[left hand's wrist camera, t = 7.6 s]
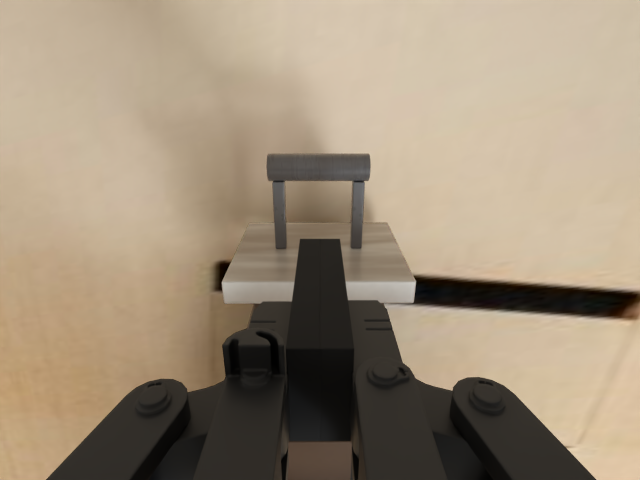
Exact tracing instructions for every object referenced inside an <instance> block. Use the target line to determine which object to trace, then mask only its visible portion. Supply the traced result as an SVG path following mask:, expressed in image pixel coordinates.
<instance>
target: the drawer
mask: <svg viewBox="0 0 640 480" xmlns="http://www.w3.org/2000/svg"><path fill="white" fill-rule="evenodd" d="M267 177H268V180H269V181H273V183H272V184H273V205H274V223H249V225H248V227H247V229H246V231H245V233H244V235H243V238H242V240H241V242H240V244H239V246H238V248H237V251H236V253H235V255H234V257H233V259H232V261H231V263H230V266H229V268H228V270H227V272H226V274H225V276H224V279H223V281H222V289H223V299H224V303H225V304H254V305H253V309H252V312H251V316H250V319H249V323H250V320H251V317H252V313H253V310H254V309H255V308H256V307H257V306H258V305H260V304H261V303H262V302H263V301H292V296H293V289H294V281H295V273H296V266H297V258H298V250H299V243H300V239H340V243H341V250H342V258H343V266H344V273H345V281H346V289H347V296H348V300H378V301H379V302H380V303H381V304H382V305H383V306H384V303H413V302H414V295H415V286H416V281H415V279H414V277H413V275H412V273H411V270H410V268H409V266H408V264H407V262H406V260H405V258H404V256H403V254H402V252H401V250H400V248H399V246H398V244H397V242H396V240H395V237H394V235H393V233H392V231H391V229H390V227H389V225H388V223H363V208H364V186H365V183H364V181H368V180H369V178H370V155H369V154H268V155H267ZM285 181H352V201H351V223H286V197H285ZM384 307H385V306H384ZM249 323H248V327H249ZM248 327H247V329H248Z"/></svg>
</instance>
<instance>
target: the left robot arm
mask: <svg viewBox="0 0 640 480" xmlns="http://www.w3.org/2000/svg"><path fill="white" fill-rule="evenodd" d="M222 347H223V356H224V365H225V374H226V377H225V380H224V381H222V382H220V383H218V384H216V385H214V386H211V387H208V388H204V389H200V390H196V391H192V392H188V393H187V388H186V387H185V386H184V385H183V384H182V383H181V382H179V381H176V380H173V379H158V380H154V381H149V382H147V383H145V384H143V385H140V386H138V387H136V388H135V389H134V390H133V391H131V392H130V393H129V394H128V395H126V396H125V397H124V398H123V399H122V401H121V402H120V403H119V404H118V405H117V406H116V407H115V408H114V409H113V410H112V411H111V412H110V413H109V414H108V415H107V416H106V417H105V418H104V419H103V420H102V422H101V423H100V424H99V425H98V426H97V427H96V428H95V429H94V430H93V431H92V432H91V433H90V434H89V435H88V436H87V437H86V438H85V439H84V440H83V442H82V443H81V444H80V445H79V446H78V447H77V448H76V449H75V450H74V451H73V452H72V453H71V454H70V455H69V456H68V457H67V458H66V459H65V460H64V461H63V463H62V464H61V465H60V466H59V467H58V468H57V469H56V470H55V471H54V472H53V473H52V474H51V475H50V476H49V477H48V478H47V479H46V480H287V479H288V466H289V453H288V443H289V441H352V453H351V478H350V480H596V479H595V478H594V477H593V476H592V475H591V474H590V473H589V472H588V470H587V469H586V468H585V467H584V466H583V465H582V464H581V463H580V462H579V461H578V460H577V459H576V458H575V457H574V456H573V455H572V454H571V453H570V452H569V451H568V450H567V449H566V448H565V446H564V445H563V444H562V443H561V442H560V441H559V440H558V439H557V438H556V437H555V436H554V435H553V434H552V433H551V432H550V431H549V430H548V429H547V428H546V427H545V426H544V425H543V423H542V422H541V421H540V420H539V419H538V418H537V417H536V416H535V415H534V414H533V413H532V412H531V411H530V410H529V409H528V408H527V407H526V406H525V405H524V404H523V403H522V402H521V400H520V399H519V398H518V397H517V396H516V395H515V394H514V393H512V392H511V391H510V390H509V389H507V388H506V387H505V386H503V385H501V384H499V383H497V382H495V381H493V380H489V379H485V378H480V377H471V378H465V379H463V380H460V381H458V382H457V384H456V385H455V386H454V387H453V391H451V390H446V389H442V388H438V387H434V386H431V385H428V384H425V383H423V382H421V381H419V380H417V379H416V378H415V377H414V375H413V373H412V371H411V370H410V368H409V367H407V366H406V365H405V364H403V362H402V359H401V355H400V352H399V349H398V345H397V342H396V339H395V335H394V332H393V330H392V325H391V322H390V319H389V315H388V312H387V309H386V308H385V307H384V306H383V305H382V304H381V303H380V302H379V301H378V300H348V296H347V289H346V281H345V273H344V266H343V258H342V250H341V243H340V239H300V243H299V250H298V258H297V266H296V273H295V281H294V289H293V296H292V301H263V302H262V303H261V304H260V305H258V306H257V307H256V308H255V309H254V310H253V313H252V317H251V320H250V323H249V327H248V329H244V330H241V331H239V332H236V333H234V334H233V335H231V336H230V337H228V338H227V339H226V341H225V342H224V344H223V345H222Z"/></svg>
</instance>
